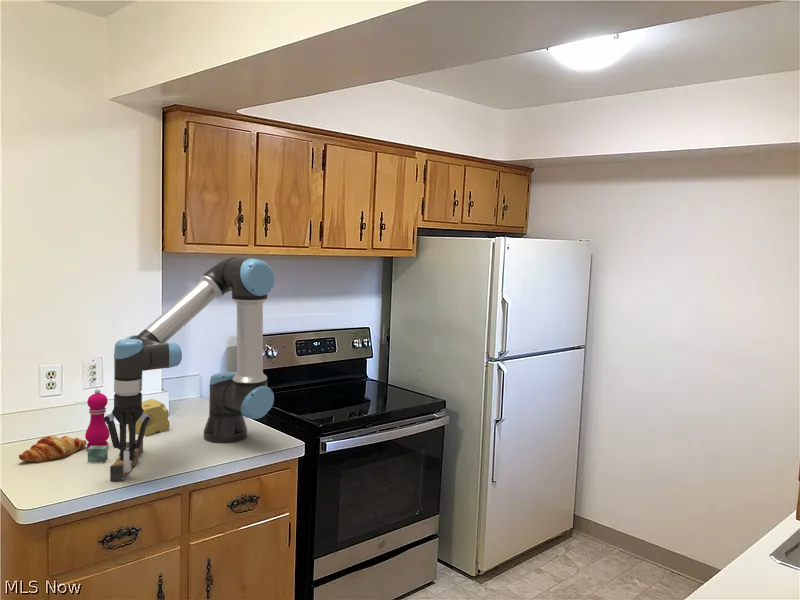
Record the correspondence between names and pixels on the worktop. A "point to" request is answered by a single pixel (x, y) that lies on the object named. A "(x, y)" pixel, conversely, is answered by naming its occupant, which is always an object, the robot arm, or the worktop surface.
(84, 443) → the croissant
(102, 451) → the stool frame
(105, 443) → the pepper mill
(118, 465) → the leg
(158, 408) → the cheese
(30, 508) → the worktop surface
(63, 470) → the worktop surface
